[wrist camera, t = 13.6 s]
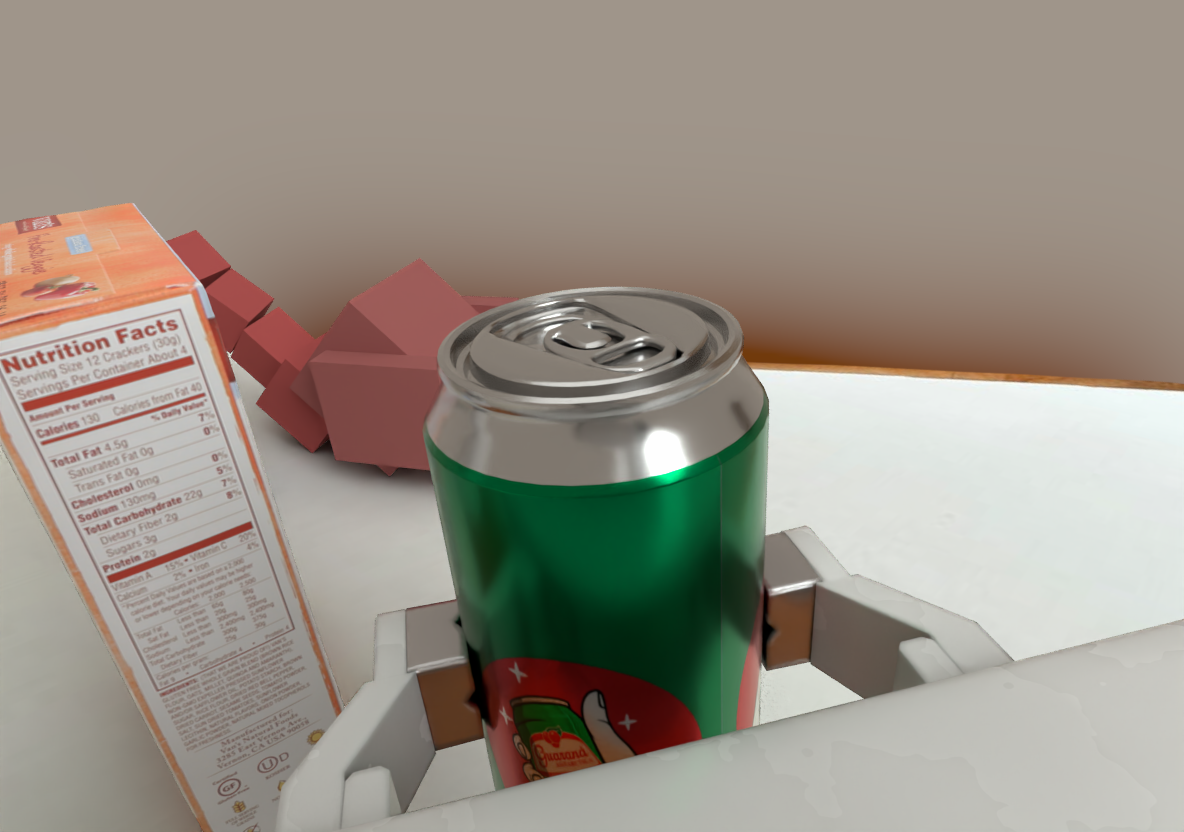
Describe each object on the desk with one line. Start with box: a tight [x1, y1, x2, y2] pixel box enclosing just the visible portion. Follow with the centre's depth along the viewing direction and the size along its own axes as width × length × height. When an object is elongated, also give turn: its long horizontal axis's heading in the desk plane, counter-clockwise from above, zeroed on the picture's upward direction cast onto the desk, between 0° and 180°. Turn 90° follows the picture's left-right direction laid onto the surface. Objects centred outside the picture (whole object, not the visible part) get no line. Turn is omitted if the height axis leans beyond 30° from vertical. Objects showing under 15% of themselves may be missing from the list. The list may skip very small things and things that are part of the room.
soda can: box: [422, 287, 769, 791], centre depth 14 cm, size 5×5×12 cm
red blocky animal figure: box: [166, 230, 519, 477], centre depth 51 cm, size 12×20×25 cm
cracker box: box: [0, 203, 344, 832], centre depth 29 cm, size 14×6×21 cm, turn 34°
